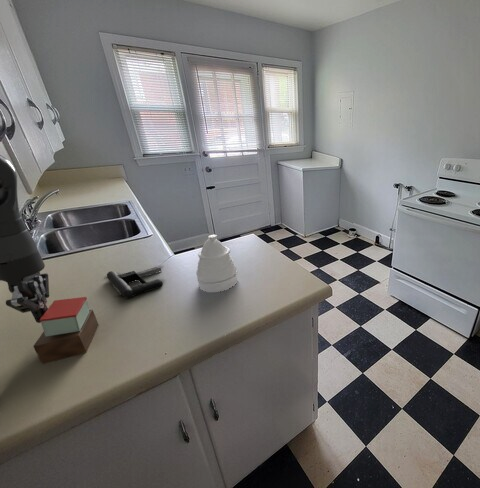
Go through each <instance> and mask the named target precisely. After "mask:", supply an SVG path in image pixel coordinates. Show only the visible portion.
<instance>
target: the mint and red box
mask: <svg viewBox="0 0 480 488" xmlns="http://www.w3.org/2000/svg"><path fill="white" fill-rule="evenodd" d="M47 308H48V309H47V311H46V312H45V313H44V315H43V316H42V317H41V319H40V322H41V323H40V324H41V327H42V331H43V332H44V333H45V336H52V335H58V334H64V333H71V332H77V331H80V329H81V328H82V326H83V324H84V322H85V320H86V318H87V316H88V314H89V312H90V311H89V310H90V308H89V304H88V297H87V296H81V297H71V298H63V299H57V300H56V299H55V300H53V302H52V303H51V304H50V306H49V307H47Z"/></svg>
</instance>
